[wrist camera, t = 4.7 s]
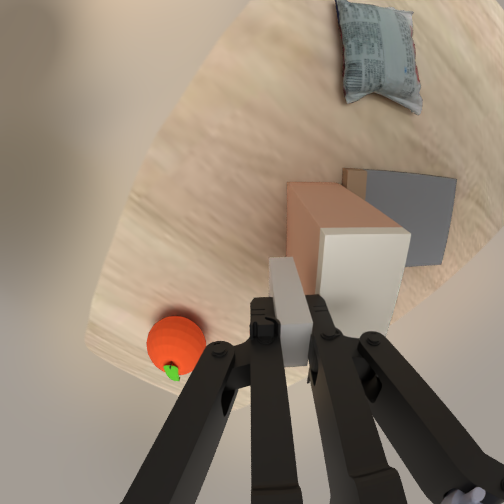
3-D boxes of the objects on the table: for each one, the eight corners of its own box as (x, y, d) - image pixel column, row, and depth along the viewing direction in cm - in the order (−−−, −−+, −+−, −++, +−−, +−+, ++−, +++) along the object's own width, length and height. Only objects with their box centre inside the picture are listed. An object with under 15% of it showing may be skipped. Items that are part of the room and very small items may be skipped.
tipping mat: (454, 178, 25) (462, 181, 24) (439, 263, 30) (445, 268, 28) (342, 168, 25) (347, 170, 24) (335, 269, 30) (338, 275, 28)
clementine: (211, 353, 35) (206, 395, 28) (161, 350, 35) (148, 390, 28) (207, 305, 32) (198, 347, 25) (150, 302, 31) (131, 341, 25)
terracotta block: (337, 182, 26) (411, 233, 13) (331, 256, 29) (382, 346, 16) (287, 182, 26) (325, 234, 13) (286, 258, 29) (311, 354, 16)
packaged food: (402, 19, 18) (424, 6, 13) (411, 115, 23) (437, 116, 18) (327, 3, 18) (340, -18, 14) (334, 105, 23) (351, 100, 18)
